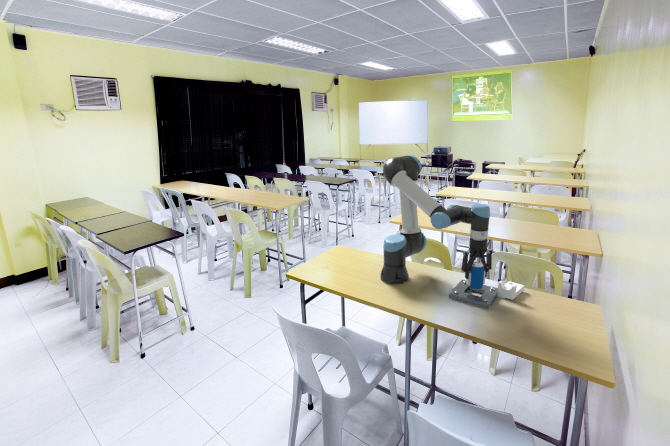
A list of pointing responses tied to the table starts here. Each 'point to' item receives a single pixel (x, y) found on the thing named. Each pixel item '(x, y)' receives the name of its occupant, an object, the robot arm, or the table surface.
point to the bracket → (509, 290)
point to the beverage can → (477, 276)
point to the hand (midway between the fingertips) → (475, 283)
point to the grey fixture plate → (483, 301)
